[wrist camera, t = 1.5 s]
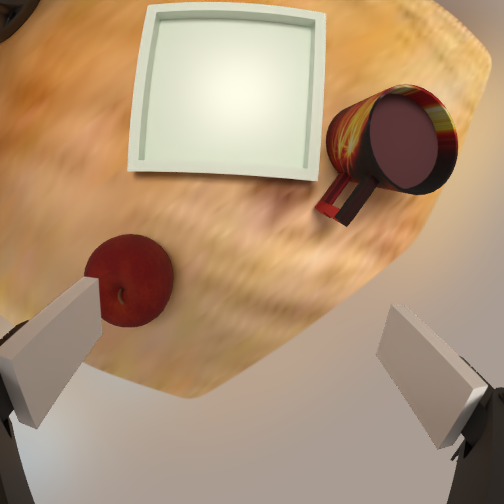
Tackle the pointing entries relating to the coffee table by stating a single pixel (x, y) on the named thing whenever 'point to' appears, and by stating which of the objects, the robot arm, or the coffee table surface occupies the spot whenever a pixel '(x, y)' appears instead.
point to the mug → (389, 148)
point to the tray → (229, 90)
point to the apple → (131, 279)
